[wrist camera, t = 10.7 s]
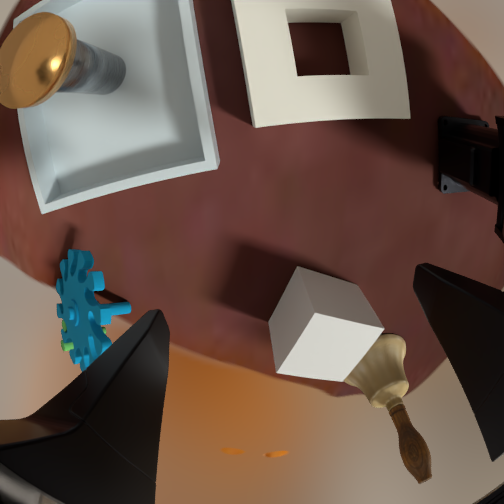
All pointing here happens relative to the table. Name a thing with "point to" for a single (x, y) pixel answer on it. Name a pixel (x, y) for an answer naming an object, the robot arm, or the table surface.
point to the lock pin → (53, 63)
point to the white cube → (321, 327)
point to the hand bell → (392, 398)
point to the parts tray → (123, 105)
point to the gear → (84, 309)
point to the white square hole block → (321, 86)
